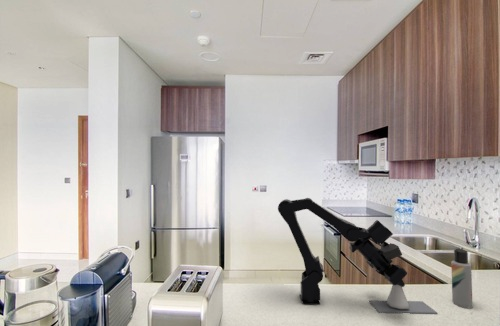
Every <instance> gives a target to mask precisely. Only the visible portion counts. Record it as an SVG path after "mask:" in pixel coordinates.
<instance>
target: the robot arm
mask: <svg viewBox="0 0 500 326" xmlns="http://www.w3.org/2000/svg"><path fill="white" fill-rule="evenodd" d="M304 210H308V211H309V212H311V213H313V215H315V216H316V217H319V218H320V219H322V220H323V221H325V222H326V223H327V224H329V225H330V226H332V227H333V228H334V229H335V230H336V231H337V232H338V233H339V234H340V235H341V236H343V237H344V238H345V239H346V241H348V242H349V250H350V251H351V253H355V252H356V251H357V252H358V253H360V255H362V257H363V258H364V260H365V261H366V264H367V265H368V266H369V267H371V269H373V268H374V269H375V272H376V273H377V274H379V275H381V276H383V277H384V279H385V280H386V281H388V282H389V283H390V284H391V285H392V286H393V285H399V286H402V288H404V287H405V286H406V284H405V282H404V281H403V279H404V278H405V277H406V276H407V275H408V272H407V271H406V269H405V268H403V267H402V266H401V265H399V264H394V263H393V262H394V261H393V259H396V258H398V257H402V256H403V253H402V250H401V249H400V246H398V244H395V243H391V242H387V240H388V239H389V238H391V237H392V236H393V235H394V233H393V232H392V231H391V230H390V229H389V228H387V227H386V226H385V225H384V224H383V223H381V222H380V220H378V219H376V220H375V221H373V223H372V224H371V225H370V226H369V227H368V228H367V229H366V228H364V227H359V226H357V225H355V224H354V223H352V222H350V221H348V220H346V219H342V218H340V217H338V216H336V215H335V214H333V213H332V212H330V211H329V210H327V209H326V208H324V207H322V206H321V205H320V204H318V203H317V202H316V201H314V200H313V199H312V198H310V197H306V198H301V199H294V200H290V199H288V198H287V199H286V198H285V199H282V200H281V201H280V203H279V204H278V206H277V211H278V214H280V216H281V218H282V219H283V220H284V222H286V224H287V225H288V228H289V231H291V234H292V236H293V239H294V240H295V243H296V245H297V248H298V251H299V252H300V256H301V257H302V260H303V264H304V268H305V269H304V271H303V272H302V273H301V280H300V294H299V299H300V301H301V303H302V305H321V302H320V301H321V289H320V287H319V283H321V282H322V281H323V279H324V265H323V263H321V261H320V256H319V255H317V256H316V257H315V255H314V254H313V253H312V250H311V248H310V245H309V244H308V242H307V241H308V240H307V239H306V237H305V235H304V232H303V230H302V227H301V226H300V223H299V221H298V217H297V214H296V213H297V212H299V211H304ZM371 240H372V241H371ZM373 242H374V243H373ZM375 244H376V245H377V244H378V245H380V248H378V247H377V246H376V245H375Z"/></svg>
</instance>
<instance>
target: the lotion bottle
mask: <svg viewBox="0 0 500 326" xmlns="http://www.w3.org/2000/svg"><path fill="white" fill-rule="evenodd" d="M453 256H454V257H453V260H452V261H450V262H451V263H450V264H451V293H452V294H451V295H452V296H451V297H452V303H453V304H454V305H455V306H458V307H461V308H464V309H472V308H473V280H472V279H473V278H472V276H473V275H472V273H473V272H472V264H471V263H469V259H468V256H469V255H468V250H465V249H462V248H455V249H453Z"/></svg>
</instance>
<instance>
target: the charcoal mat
mask: <svg viewBox="0 0 500 326" xmlns="http://www.w3.org/2000/svg"><path fill="white" fill-rule="evenodd" d="M368 301H369V302H370V303H369V302H368V303H369V304H370V305H371V306H372V307H373V309H374V310H375V309H376V310H375V311H376V312H377V313H378V314H403V313H410V314H411V315H414V314H416V315H420V314H421V315H438V312H437V311H436V310H434V309H433V308H432V307H431V306H429V305H428V304H427V303H425V302H424V301H423V300H422V301H421V300H420V301H419V300H407V302H408V304H409V309H398V308H394V307H391V306H390V305H389V304H387V300H379V299H378V300H374V299H373V300H372V299H371V300H368ZM410 314H409V315H410Z"/></svg>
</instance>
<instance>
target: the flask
mask: <svg viewBox="0 0 500 326" xmlns="http://www.w3.org/2000/svg"><path fill="white" fill-rule="evenodd" d="M388 294H389V295H388V296H387V300H386V301H387V304H389V305H390V306H391V307H394V308H398V309H409V304H408V302H407V301H408V299H407V297H406V295H405V291H404V287H402V286H399V285H393V284H392V285H391V289H390V292H389V293H388Z"/></svg>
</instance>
